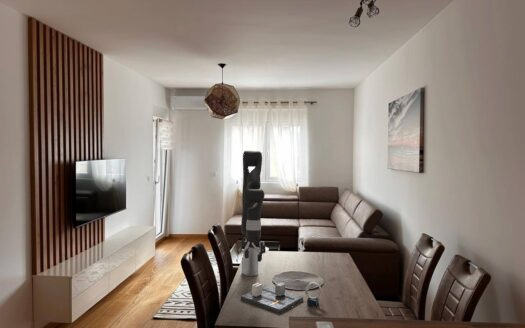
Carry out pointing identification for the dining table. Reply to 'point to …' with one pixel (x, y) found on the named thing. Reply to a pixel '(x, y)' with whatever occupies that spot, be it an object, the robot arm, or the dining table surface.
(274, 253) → the dining table surface
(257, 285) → the fader white
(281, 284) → the fader grey
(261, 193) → the robot arm
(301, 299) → the panel
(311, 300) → the watch
